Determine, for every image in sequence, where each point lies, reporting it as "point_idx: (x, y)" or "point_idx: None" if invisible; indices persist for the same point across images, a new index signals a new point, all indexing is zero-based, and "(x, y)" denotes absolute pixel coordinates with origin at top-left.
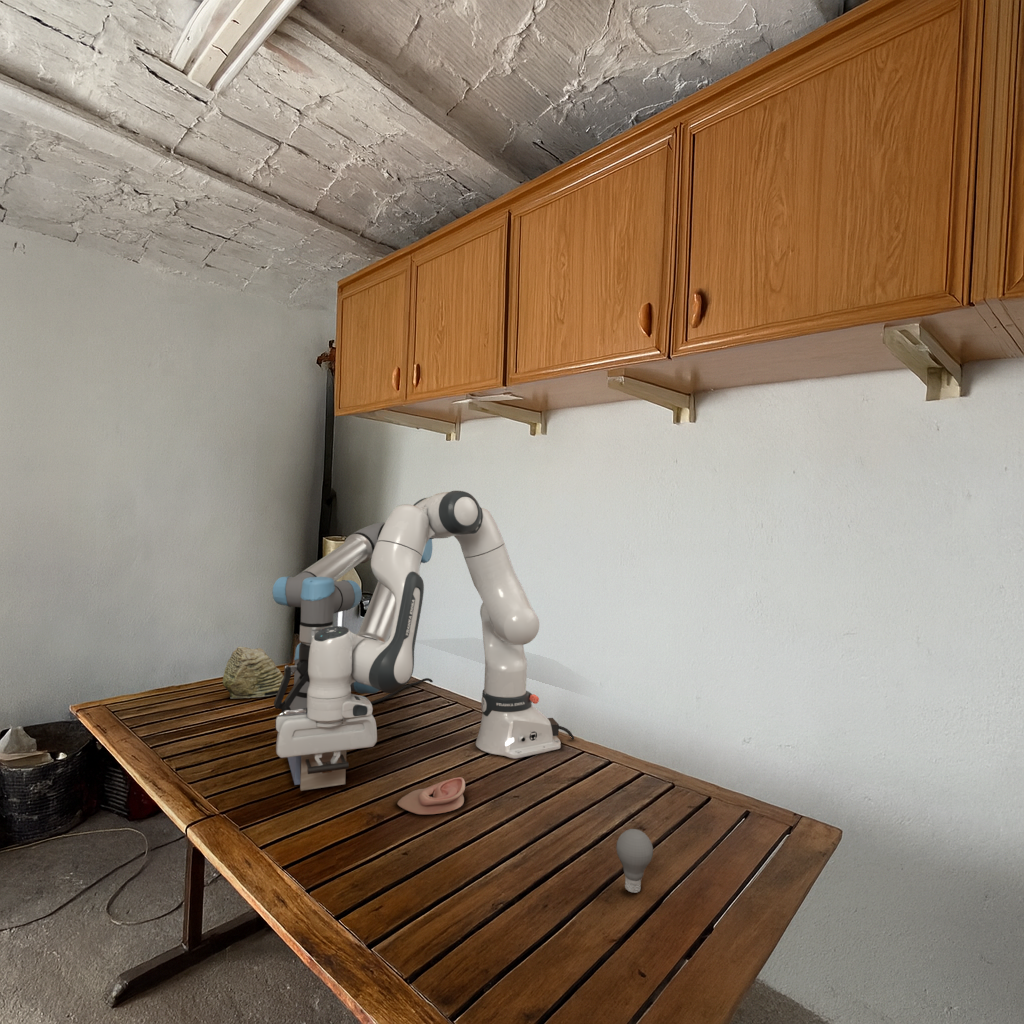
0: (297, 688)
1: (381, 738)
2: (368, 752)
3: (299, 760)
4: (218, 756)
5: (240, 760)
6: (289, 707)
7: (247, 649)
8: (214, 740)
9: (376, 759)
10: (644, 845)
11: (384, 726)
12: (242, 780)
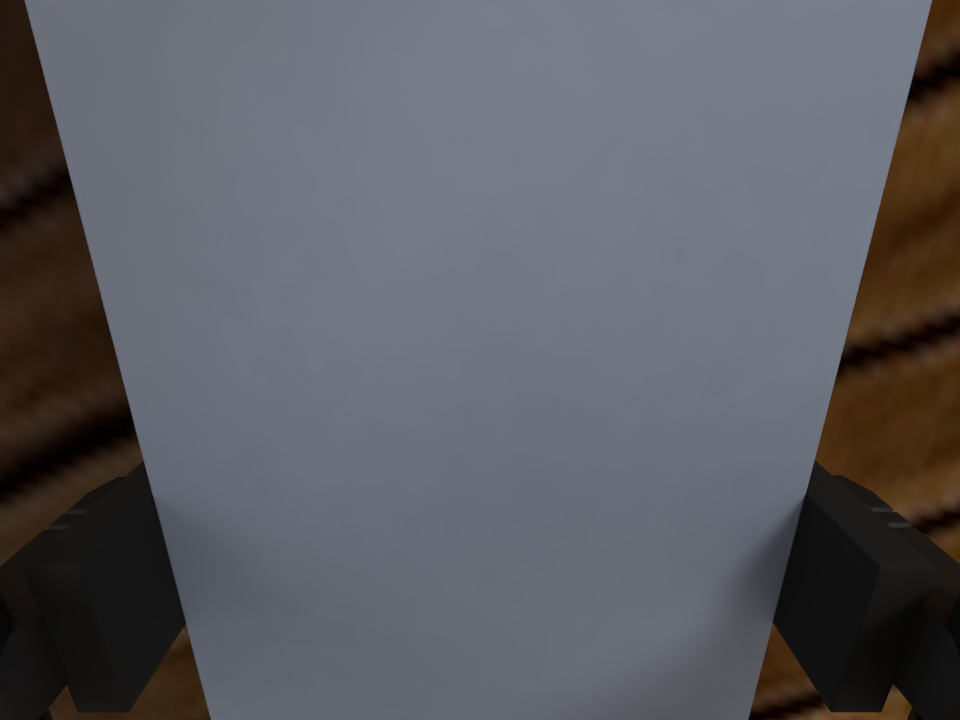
0: None
1: (32, 519)
2: (108, 338)
3: None
4: (952, 537)
5: (867, 455)
6: (844, 697)
7: None
8: (901, 715)
9: (45, 202)
10: None
11: None
12: (955, 151)
